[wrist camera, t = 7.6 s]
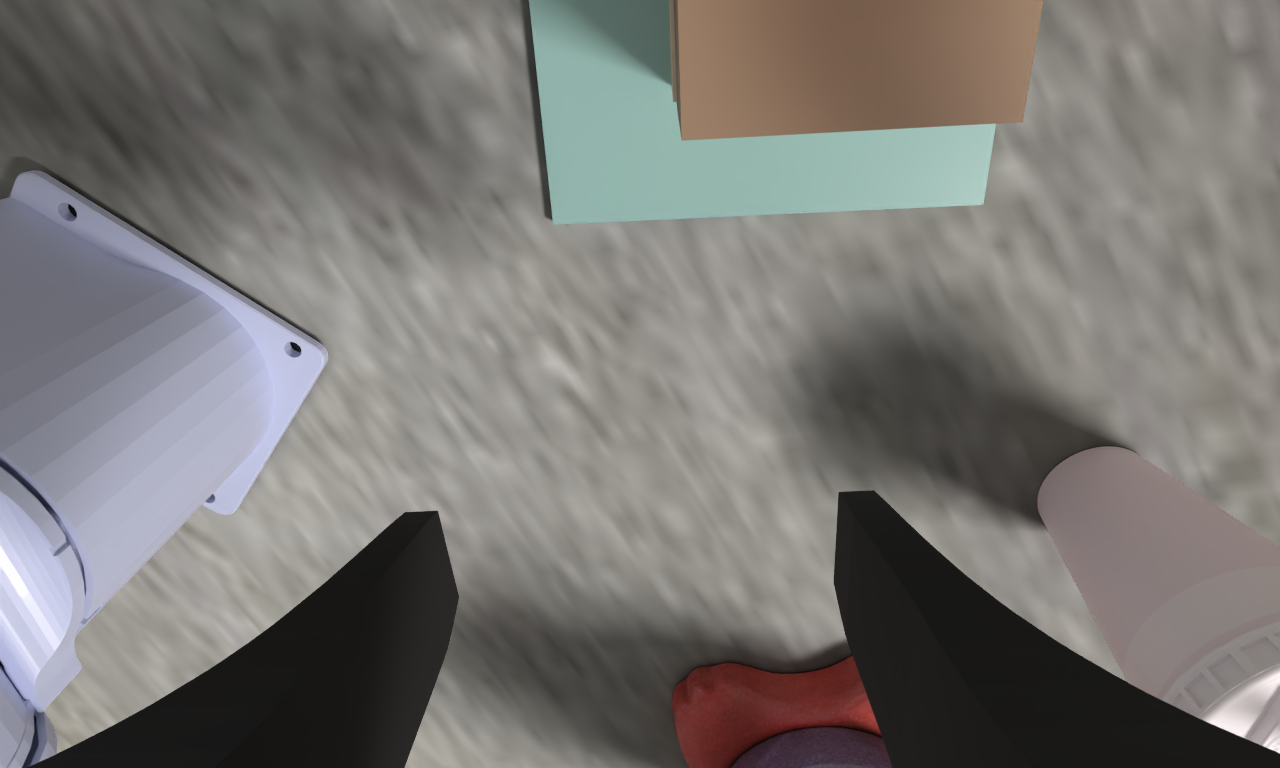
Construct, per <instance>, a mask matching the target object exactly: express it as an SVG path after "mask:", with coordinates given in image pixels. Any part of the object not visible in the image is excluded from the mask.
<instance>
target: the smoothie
mask: <svg viewBox="0 0 1280 768" xmlns="http://www.w3.org/2000/svg"><path fill="white" fill-rule="evenodd" d="M1037 506H1038V511H1039V514H1040V516H1041V518H1042V520H1043V522H1044V524H1045V526H1046V528H1047V530H1048V532H1049V534H1050V535H1051V537H1052V539H1053V541H1054V543H1055V545H1056V547H1057V549H1058V551H1059V553H1060V554H1061V556H1062V558H1063V560H1064V562H1065V564H1066V566H1067V568H1068V570H1069V572H1070V573H1071V575H1072V577H1073V579H1074V581H1075V583H1076V585H1077V587H1078V589H1079V591H1080V593H1081V594H1082V596H1083V598H1084V600H1085V602H1086V604H1087V606H1088V608H1089V610H1090V612H1091V613H1092V615H1093V617H1094V619H1095V621H1096V623H1097V625H1098V627H1099V629H1100V631H1101V632H1102V634H1103V636H1104V638H1105V640H1106V642H1107V644H1108V646H1109V648H1110V650H1111V651H1112V653H1113V655H1114V657H1115V659H1116V661H1117V663H1118V665H1119V667H1120V669H1121V670H1122V672H1123V674H1124V676H1125V678H1126V680H1127V682H1128V683H1129V684H1131V685H1133V686H1135V687H1137V688H1139V689H1141V690H1143V691H1145V692H1146V693H1148V694H1150V695H1152V696H1154V697H1156V698H1158V699H1160V700H1162V701H1164V702H1167V703H1169V704H1171V705H1173V706H1175V707H1177V708H1179V709H1181V710H1183V711H1185V712H1187V713H1189V714H1191V715H1193V716H1195V717H1197V718H1199V719H1201V720H1204V721H1206V722H1208V723H1210V724H1212V725H1215V726H1217V727H1219V728H1222V729H1224V730H1226V731H1229V732H1231V733H1233V734H1236V735H1238V736H1240V737H1243V738H1245V739H1247V740H1250V741H1252V742H1254V743H1257V744H1259V745H1261V746H1264V747H1266V748H1269V749H1271V750H1273V751H1276V752H1278V753H1280V547H1279V546H1277V545H1275V544H1274V543H1272V542H1271V541H1269V540H1268V539H1266V538H1265V537H1263V536H1262V535H1260V534H1259V533H1257V532H1256V531H1254V530H1253V529H1251V528H1250V527H1248V526H1246V525H1245V524H1243V523H1242V522H1240V521H1239V520H1237V519H1236V518H1234V517H1233V516H1231V515H1230V514H1228V513H1227V512H1225V511H1224V510H1222V509H1221V508H1219V507H1217V506H1216V505H1214V504H1213V503H1211V502H1210V501H1208V500H1207V499H1205V498H1204V497H1202V496H1201V495H1199V494H1198V493H1196V492H1195V491H1193V490H1192V489H1190V488H1188V487H1187V486H1185V485H1184V484H1182V483H1181V482H1179V481H1178V480H1176V479H1175V478H1173V477H1172V476H1170V475H1169V474H1167V473H1166V472H1164V471H1163V470H1161V469H1159V468H1158V467H1156V466H1155V465H1153V464H1152V463H1150V462H1149V461H1147V460H1146V459H1144V458H1143V457H1141V456H1140V455H1138V454H1136V453H1135V452H1133V451H1131V450H1128V449H1125V448H1121V447H1113V446H1104V447H1096V448H1091V449H1087V450H1084V451H1081V452H1079V453H1076V454H1074V455H1072V456H1070V457H1069V458H1067V459H1065V460H1064V461H1062V462H1061V463H1060V464H1058V465H1057V466H1056V467H1055V468H1054V469H1053V470H1052V471H1051V472H1050V473H1049V474H1048V476H1047V477H1046V478H1045V480H1044V481H1043V483H1042V485H1041V487H1040V490H1039V493H1038V498H1037Z"/></svg>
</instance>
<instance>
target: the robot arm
mask: <svg viewBox="0 0 1280 768" xmlns="http://www.w3.org/2000/svg"><path fill="white" fill-rule="evenodd" d="M68 204H70V205H71V206H72V207H73V208H75V210H76V213H77V217H75V216H74V215H73V214H72V213H70V211H69V209H68ZM290 342H294V343H297V344H298V345H299V346H300V348H301V352H297V351H295V350H294V349H293V348H292V347H291V345H290ZM327 361H328V352H327V350H326V349H325V347H324V346H323V345H322V344H320V343H319V342H318V341H316V340H314V339H313V338H311V337H310V336H308V335H306V334H305V333H303V332H302V331H300V330H298V329H297V328H295V327H293V326H292V325H290V324H289V323H287V322H285V321H284V320H282V319H281V318H279V317H277V316H276V315H274V314H272V313H271V312H269V311H268V310H266V309H264V308H263V307H261V306H260V305H258V304H256V303H255V302H253V301H251V300H250V299H248V298H247V297H245V296H243V295H242V294H240V293H239V292H237V291H235V290H234V289H232V288H230V287H229V286H227V285H226V284H224V283H222V282H221V281H219V280H218V279H216V278H214V277H213V276H211V275H209V274H208V273H206V272H205V271H203V270H201V269H200V268H198V267H197V266H195V265H193V264H192V263H190V262H188V261H187V260H185V259H184V258H182V257H180V256H179V255H177V254H176V253H174V252H172V251H171V250H169V249H167V248H166V247H164V246H163V245H161V244H159V243H158V242H156V241H155V240H153V239H151V238H150V237H148V236H146V235H145V234H143V233H142V232H140V231H138V230H137V229H135V228H134V227H132V226H130V225H129V224H127V223H125V222H124V221H122V220H121V219H119V218H117V217H116V216H114V215H113V214H111V213H109V212H108V211H106V210H104V209H103V208H101V207H100V206H98V205H96V204H95V203H93V202H92V201H90V200H88V199H87V198H85V197H83V196H82V195H80V194H79V193H77V192H75V191H74V190H72V189H71V188H69V187H67V186H66V185H64V184H62V183H61V182H59V181H58V180H56V179H54V178H53V177H51V176H50V175H48V174H46V173H44V172H41V171H37V170H32V171H27V172H23V173H21V174H19V175H18V176H17V178H16V179H15V182H14V185H13V188H12V191H11V194H10V197H8V198H4V199H0V768H404V767H405V764H406V762H407V759H408V756H409V753H410V751H411V748H412V745H413V743H414V740H415V737H416V734H417V732H418V729H419V726H420V724H421V721H422V718H423V716H424V713H425V710H426V707H427V705H428V702H429V699H430V697H431V694H432V691H433V688H434V686H435V683H436V680H437V677H438V674H439V672H440V669H441V666H442V663H443V660H444V658H445V655H446V652H447V649H448V645H449V641H450V636H451V632H452V628H453V623H454V619H455V614H456V609H457V604H458V599H459V595H458V591H457V587H456V583H455V579H454V575H453V571H452V567H451V563H450V559H449V555H448V551H447V547H446V543H445V538H444V534H443V530H442V526H441V522H440V518H439V514H438V511H424V512H405V513H404V514H403V515H401V516H400V517H399V518H398V519H396V520H395V521H394V522H393V523H392V524H391V525H389V526H388V527H387V528H386V529H385V530H384V531H383V532H382V533H380V534H379V535H378V536H377V537H376V538H375V539H374V540H373V541H372V542H370V543H369V544H368V545H367V546H366V547H365V548H364V549H363V550H362V551H360V552H359V553H358V554H357V555H356V556H355V557H354V558H353V559H351V560H350V561H349V562H348V563H347V564H346V565H345V566H344V567H342V568H341V569H340V570H339V571H338V572H337V573H336V574H334V575H333V576H332V577H331V578H330V579H329V580H328V581H326V582H325V583H324V584H323V585H322V586H321V587H319V588H318V589H317V590H316V591H314V592H313V593H312V594H311V595H309V596H308V597H307V598H306V599H305V600H303V601H302V602H301V603H300V604H298V605H297V606H296V607H295V608H293V609H292V610H291V611H290V612H289V613H287V614H286V615H285V616H284V617H282V618H281V619H280V620H279V621H277V622H276V623H275V624H273V625H272V626H271V627H270V628H268V629H267V630H266V631H264V632H263V633H261V634H260V635H259V636H257V637H256V638H255V639H253V640H252V641H250V642H249V643H248V644H246V645H245V646H243V647H242V648H240V649H239V650H237V651H236V652H235V653H233V654H232V655H230V656H229V657H227V658H226V659H224V660H223V661H221V662H220V663H218V664H217V665H215V666H214V667H212V668H211V669H209V670H208V671H206V672H204V673H203V674H201V675H199V676H198V677H196V678H195V679H193V680H191V681H190V682H188V683H186V684H185V685H183V686H181V687H180V688H178V689H176V690H175V691H173V692H171V693H170V694H168V695H167V696H165V697H163V698H162V699H160V700H158V701H157V702H155V703H153V704H152V705H150V706H148V707H146V708H145V709H143V710H141V711H139V712H137V713H135V714H134V715H132V716H130V717H128V718H126V719H124V720H123V721H121V722H119V723H117V724H115V725H113V726H111V727H109V728H108V729H106V730H104V731H102V732H100V733H98V734H96V735H94V736H92V737H90V738H88V739H86V740H84V741H82V742H80V743H78V744H76V745H74V746H72V747H70V748H68V749H66V750H64V751H62V752H60V753H58V754H57V737H56V734H55V731H54V728H53V725H52V723H51V721H50V720H49V718H48V717H47V715H46V714H45V712H44V710H45V709H46V708H47V707H48V706H49V705H50V703H51V702H52V701H53V700H54V699H55V698H56V697H57V696H58V695H59V694H60V692H61V691H62V690H63V689H64V688H65V687H66V686H67V685H68V684H69V683H70V681H71V680H72V679H73V678H74V677H75V676H76V675H77V674H78V673H79V671H80V670H81V669H82V667H81V664H80V662H79V660H78V658H77V656H76V652H75V648H74V640H75V636H76V635H77V634H78V633H79V632H80V631H81V630H82V629H83V627H84V626H85V625H86V624H87V623H88V622H89V621H90V620H91V619H92V618H93V617H94V616H95V615H96V614H97V613H98V612H99V611H100V610H101V609H102V608H103V607H104V606H105V605H106V604H107V603H108V602H109V601H110V599H111V598H112V597H113V596H114V595H115V594H116V593H117V592H118V591H119V590H120V589H121V588H122V587H123V586H124V585H125V584H126V583H127V582H128V581H129V580H130V579H131V578H132V577H133V576H134V575H135V574H136V573H137V571H138V570H139V569H140V568H141V567H142V566H143V565H144V564H145V563H146V562H147V561H148V560H149V559H150V558H151V557H152V556H153V555H154V554H155V553H156V552H157V551H158V550H159V549H160V548H161V547H162V546H163V545H164V543H165V542H166V541H167V540H168V539H169V538H170V537H171V536H172V535H173V534H174V533H175V532H176V531H177V530H178V529H179V528H180V527H181V526H182V525H183V524H184V523H185V522H186V521H187V520H188V519H189V518H190V517H191V516H192V514H193V513H194V512H195V511H196V510H197V509H198V508H199V507H200V506H201V505H203V506H205V507H207V508H209V509H211V510H212V511H214V512H216V513H219V514H222V515H229V514H232V513H233V512H235V511H236V509H237V508H238V507H239V506H240V505H241V503H242V501H243V500H244V498H245V496H246V495H247V493H248V492H249V490H250V488H251V487H252V485H253V483H254V482H255V480H256V478H257V477H258V475H259V474H260V472H261V470H262V469H263V467H264V465H265V464H266V462H267V460H268V459H269V457H270V455H271V454H272V452H273V451H274V449H275V447H276V446H277V444H278V442H279V441H280V439H281V437H282V436H283V434H284V433H285V431H286V429H287V428H288V426H289V424H290V423H291V421H292V419H293V418H294V416H295V414H296V413H297V411H298V410H299V408H300V406H301V405H302V403H303V401H304V400H305V398H306V396H307V395H308V393H309V392H310V390H311V388H312V387H313V385H314V383H315V382H316V380H317V378H318V377H319V375H320V373H321V372H322V370H323V369H324V367H325V365H326V364H327ZM212 494H214V496H212ZM834 586H835V590H836V595H837V600H838V604H839V609H840V613H841V618H842V622H843V626H844V631H845V635H846V638H847V641H848V643H849V646H850V649H851V652H852V655H853V658H854V661H855V663H856V666H857V669H858V672H859V675H860V677H861V680H862V683H863V686H864V688H865V691H866V694H867V697H868V700H869V702H870V705H871V708H872V711H873V713H874V716H875V719H876V722H877V724H878V727H879V730H880V733H881V736H882V738H883V741H884V744H885V747H886V749H887V752H888V755H889V758H890V762H891V765H892V768H1280V753H1278V752H1276V751H1273V750H1271V749H1269V748H1266V747H1264V746H1261V745H1259V744H1257V743H1254V742H1252V741H1250V740H1247V739H1245V738H1243V737H1240V736H1238V735H1236V734H1233V733H1231V732H1229V731H1226V730H1224V729H1222V728H1219V727H1217V726H1215V725H1212V724H1210V723H1208V722H1206V721H1204V720H1201V719H1199V718H1197V717H1195V716H1193V715H1191V714H1189V713H1187V712H1185V711H1183V710H1181V709H1179V708H1177V707H1175V706H1173V705H1171V704H1169V703H1167V702H1164V701H1162V700H1160V699H1158V698H1156V697H1154V696H1152V695H1150V694H1148V693H1146V692H1145V691H1143V690H1141V689H1139V688H1137V687H1135V686H1133V685H1131V684H1129V683H1128V682H1126V681H1124V680H1122V679H1120V678H1118V677H1116V676H1115V675H1113V674H1111V673H1109V672H1108V671H1106V670H1104V669H1103V668H1101V667H1099V666H1097V665H1096V664H1094V663H1092V662H1090V661H1089V660H1087V659H1085V658H1084V657H1082V656H1080V655H1078V654H1077V653H1075V652H1073V651H1072V650H1070V649H1069V648H1067V647H1065V646H1064V645H1062V644H1060V643H1059V642H1057V641H1056V640H1054V639H1053V638H1051V637H1050V636H1048V635H1047V634H1045V633H1044V632H1042V631H1041V630H1039V629H1038V628H1036V627H1035V626H1033V625H1032V624H1030V623H1029V622H1027V621H1026V620H1024V619H1023V618H1021V617H1020V616H1018V615H1017V614H1016V613H1014V612H1013V611H1011V610H1010V609H1009V608H1007V607H1006V606H1005V605H1003V604H1002V603H1000V602H999V601H998V600H996V599H995V598H994V597H993V596H991V595H990V594H989V593H988V592H986V591H985V590H984V589H983V588H981V587H980V586H979V585H977V584H976V583H975V582H974V581H972V580H971V579H970V578H969V577H967V576H966V575H965V574H964V573H963V572H961V571H960V570H959V569H958V568H957V567H956V566H954V565H953V564H952V563H951V562H950V561H949V560H948V559H946V558H945V557H944V556H943V555H942V554H941V553H940V552H939V551H937V550H936V549H935V548H934V547H933V546H932V545H931V544H930V543H929V542H928V541H926V540H925V539H924V538H923V537H922V536H921V535H920V534H919V533H918V532H917V531H916V530H915V529H914V528H913V527H912V526H911V525H909V524H908V523H907V522H906V521H905V520H904V519H903V518H902V517H901V516H900V515H899V514H898V513H897V512H896V511H895V510H894V509H893V508H892V507H891V506H890V505H889V504H888V503H887V502H886V501H885V500H884V499H883V498H881V497H880V496H879V495H878V494H877V493H876V492H875V491H853V492H839V497H838V515H837V533H836V551H835V569H834Z"/></svg>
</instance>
